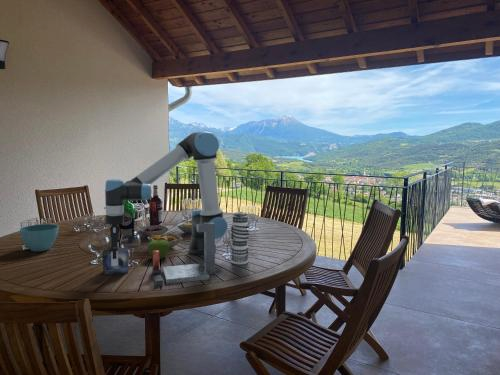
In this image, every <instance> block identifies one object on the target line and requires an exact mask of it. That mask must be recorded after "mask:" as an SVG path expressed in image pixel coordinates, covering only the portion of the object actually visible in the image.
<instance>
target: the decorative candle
mask: <svg viewBox="0 0 500 375" xmlns="http://www.w3.org/2000/svg"><path fill="white" fill-rule="evenodd" d="M231 217H232V221H231V222H232V223H231V226H230V231H231V233H230V235H231V236H230V238H231V240H232V243H231V248H230V249H231V254H230V256H231V258H230V261H231V263H232V264H235V265H246V264H248V262H249V261H248V260H249V246H248V240H249V235H250V234H249V232H250V230H249V228H250V226H249V225H250V223H249V219H248V217H249V215H248V214H247V213H246V212H244V211H235V212H234V213H233V214H232V215H231Z"/></svg>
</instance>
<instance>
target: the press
mask: <svg viewBox="0 0 500 375" xmlns="http://www.w3.org/2000/svg"><path fill="white" fill-rule="evenodd" d="M197 232H204V254H203V255H204V256H203V262H204V263H200V262H199V263H192V264H180V265H171V266H169V265H168V266H162V274H163V276H164V279H163V278H162V275H161V273H154V274H153V273H152V276H153V277H152V278H153V281H154V285H155V287H156V288H157V287H163V286H164V280H165V284H166V285H171V284H179V283H187V282H188V283H190V282H196V281H207V280H209V279H210V275H213V274H216V272H215V271H216V270H215V269H216V264H215V263H216V261H215V260H216V259H215V258H216V251H215V244H216V239H215V223H214V222H204V224H197Z"/></svg>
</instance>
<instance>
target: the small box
mask: <svg viewBox="0 0 500 375" xmlns="http://www.w3.org/2000/svg"><path fill="white" fill-rule="evenodd" d="M109 250H111V248H104V249H103V251H102V269H103V270H102V271H103V272H102V273H103V276H106V275H107V276H108V275H124V274H129V270H130V267H129V264H130V263H129V262H130V261H129V260H130V259H129V247H128V246H127V247H119V248H118V266H111V252H110V251H109Z"/></svg>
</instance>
